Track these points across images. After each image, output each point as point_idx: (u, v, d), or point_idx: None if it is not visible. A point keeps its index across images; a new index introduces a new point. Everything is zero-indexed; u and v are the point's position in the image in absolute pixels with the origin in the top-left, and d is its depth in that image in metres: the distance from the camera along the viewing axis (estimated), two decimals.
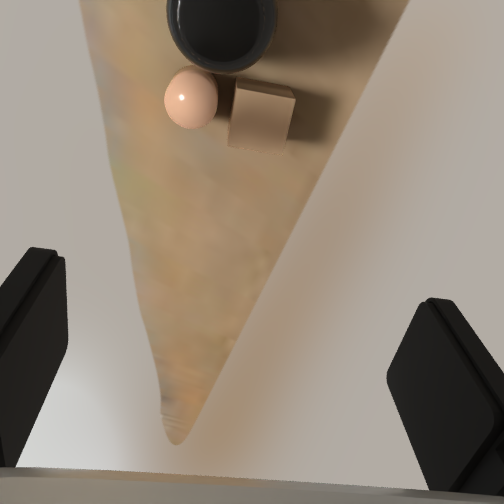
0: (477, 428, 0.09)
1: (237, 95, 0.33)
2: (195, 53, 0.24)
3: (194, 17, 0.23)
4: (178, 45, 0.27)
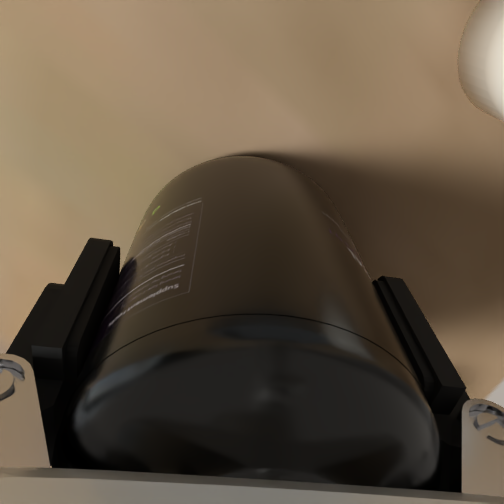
0: None
1: None
2: None
3: None
4: None
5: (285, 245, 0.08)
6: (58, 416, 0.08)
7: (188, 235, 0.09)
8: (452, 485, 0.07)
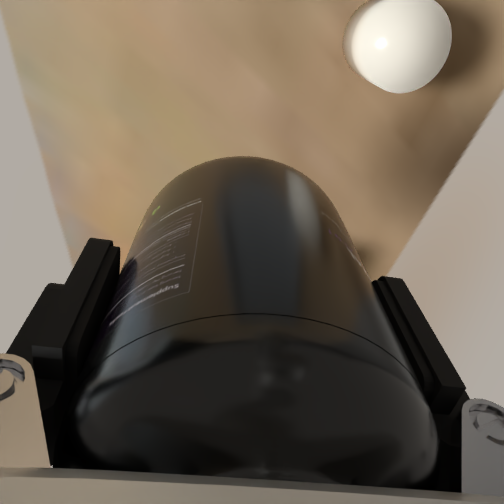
0: None
1: None
2: None
3: None
4: None
5: (284, 245, 0.08)
6: (58, 416, 0.08)
7: (189, 236, 0.09)
8: (452, 485, 0.07)
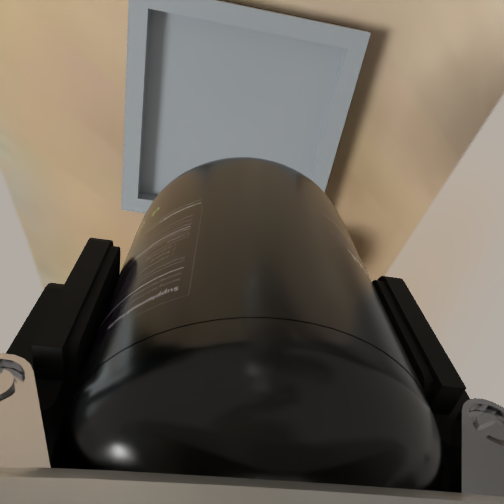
0: None
1: None
2: None
3: None
4: None
5: (285, 247, 0.08)
6: (58, 416, 0.08)
7: (188, 238, 0.09)
8: (452, 485, 0.07)
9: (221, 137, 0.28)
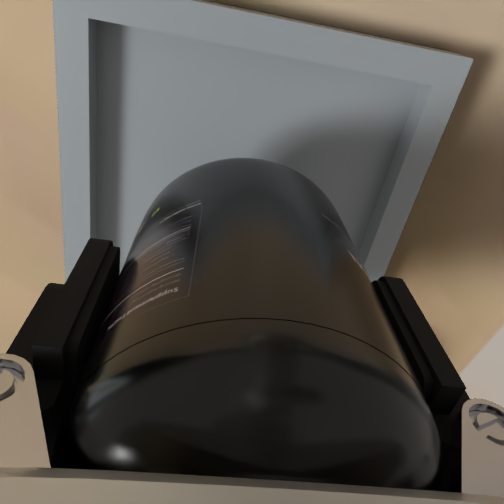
0: None
1: None
2: None
3: None
4: None
5: (285, 247, 0.08)
6: (58, 416, 0.08)
7: (188, 238, 0.09)
8: (452, 485, 0.07)
9: None
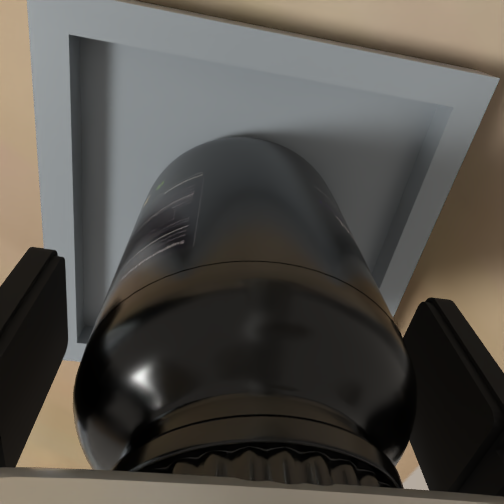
0: (477, 428, 0.09)
1: None
2: None
3: None
4: None
5: (278, 209, 0.09)
6: None
7: (191, 203, 0.10)
8: None
9: None
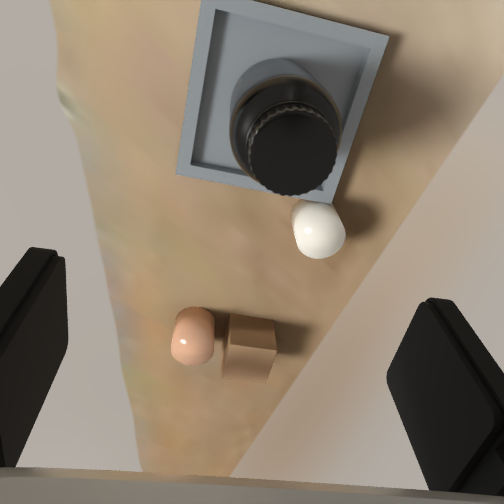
0: (477, 428, 0.09)
1: (230, 348, 0.41)
2: (263, 184, 0.24)
3: (266, 152, 0.23)
4: (239, 163, 0.27)
5: (298, 70, 0.27)
6: None
7: (266, 69, 0.27)
8: None
9: None
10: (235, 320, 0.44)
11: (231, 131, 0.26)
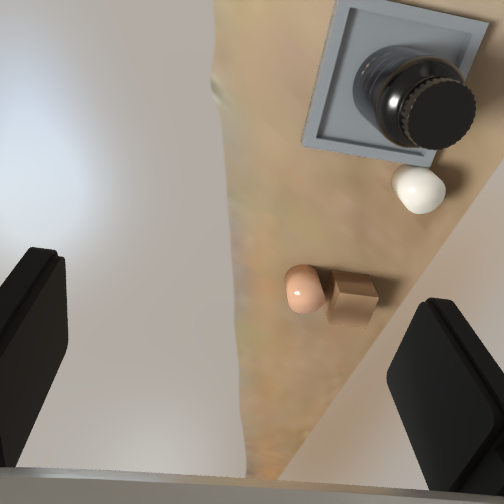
0: (477, 428, 0.09)
1: (339, 296, 0.48)
2: (415, 141, 0.31)
3: (421, 115, 0.30)
4: (384, 128, 0.34)
5: None
6: None
7: (399, 53, 0.34)
8: None
9: None
10: (338, 275, 0.51)
11: (380, 103, 0.33)
